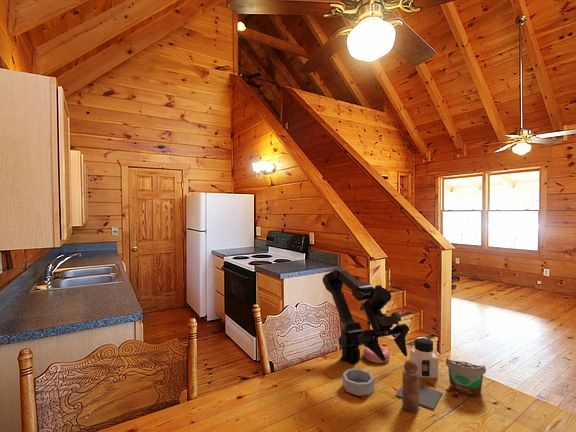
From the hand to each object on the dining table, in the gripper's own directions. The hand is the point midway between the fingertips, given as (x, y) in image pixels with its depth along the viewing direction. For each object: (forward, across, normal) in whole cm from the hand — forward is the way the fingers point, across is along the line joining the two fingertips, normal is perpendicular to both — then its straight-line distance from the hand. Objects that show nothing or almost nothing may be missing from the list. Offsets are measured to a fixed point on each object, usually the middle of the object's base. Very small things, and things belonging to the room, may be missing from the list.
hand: (395, 358), depth 105 cm
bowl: (+3, -9, +15) cm, 18 cm away
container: (+4, +20, +15) cm, 25 cm away
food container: (+15, +23, +4) cm, 28 cm away
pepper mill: (+14, 0, +4) cm, 15 cm away
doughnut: (-8, +11, +27) cm, 30 cm away
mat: (+11, +8, +7) cm, 15 cm away
